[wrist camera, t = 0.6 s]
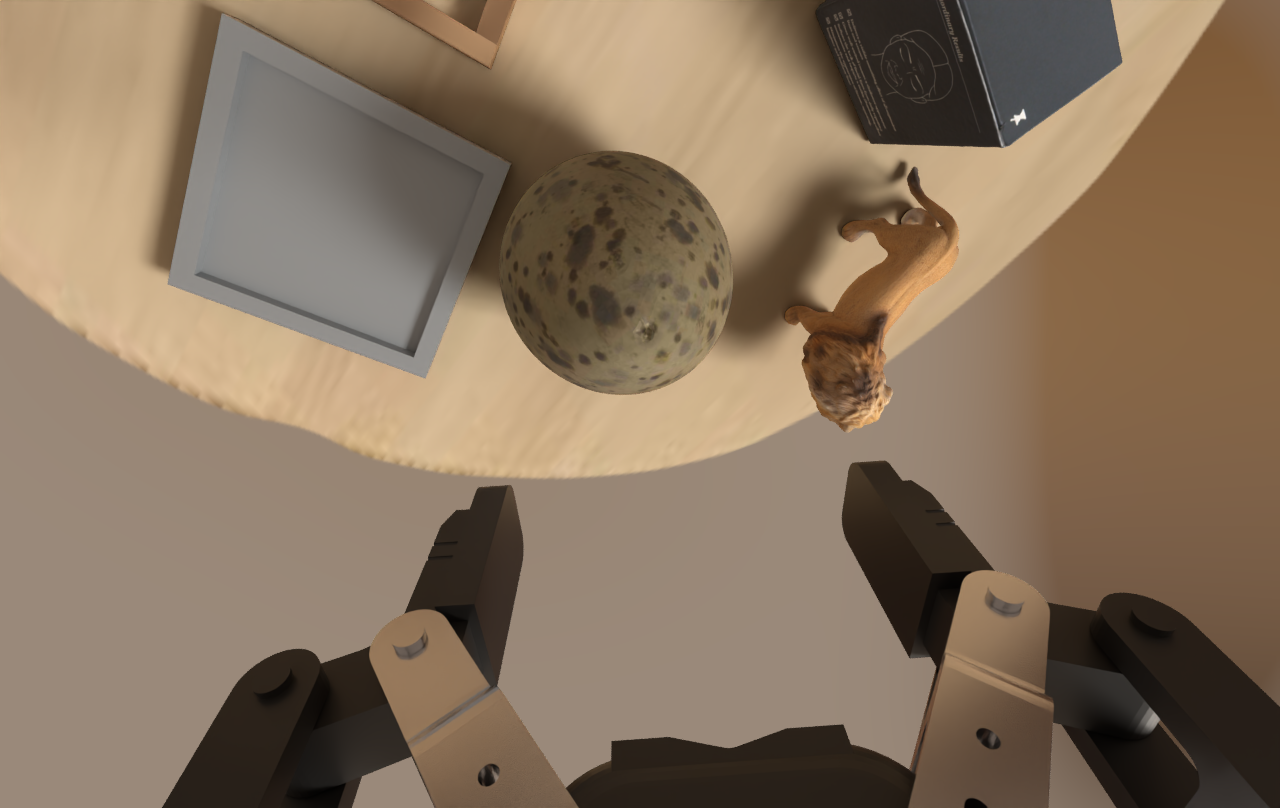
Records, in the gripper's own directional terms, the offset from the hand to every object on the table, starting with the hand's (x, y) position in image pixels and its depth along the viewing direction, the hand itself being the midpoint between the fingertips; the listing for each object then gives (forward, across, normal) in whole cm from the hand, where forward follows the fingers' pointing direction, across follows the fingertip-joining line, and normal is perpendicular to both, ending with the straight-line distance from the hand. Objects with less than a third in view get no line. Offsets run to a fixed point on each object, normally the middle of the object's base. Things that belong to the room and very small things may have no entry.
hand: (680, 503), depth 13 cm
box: (+25, -14, -10) cm, 30 cm away
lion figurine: (+24, -13, +3) cm, 28 cm away
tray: (+21, +16, -4) cm, 26 cm away
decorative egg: (+22, +2, -1) cm, 23 cm away
